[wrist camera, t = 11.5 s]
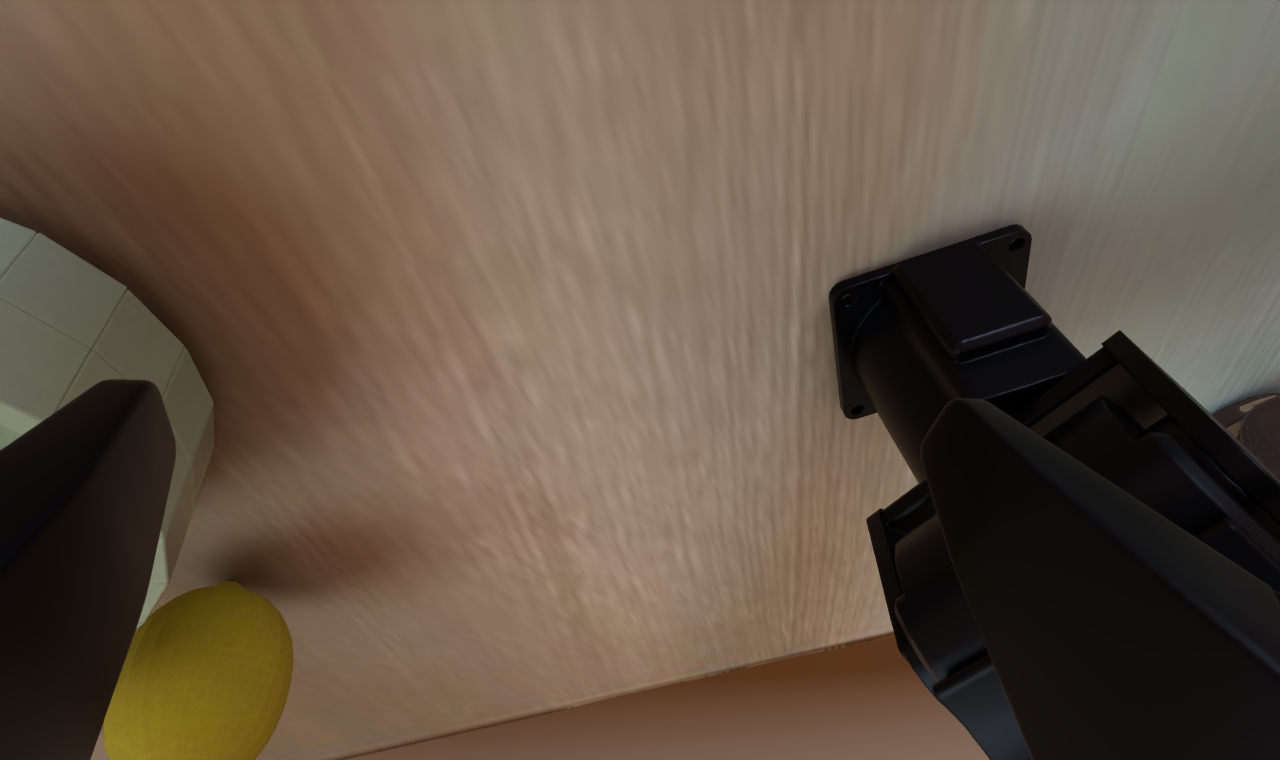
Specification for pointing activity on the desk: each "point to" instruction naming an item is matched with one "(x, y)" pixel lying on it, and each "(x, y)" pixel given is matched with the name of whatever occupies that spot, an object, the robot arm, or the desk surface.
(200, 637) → the lemon
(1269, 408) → the compass
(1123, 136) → the desk surface
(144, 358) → the bowl
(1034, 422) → the robot arm
